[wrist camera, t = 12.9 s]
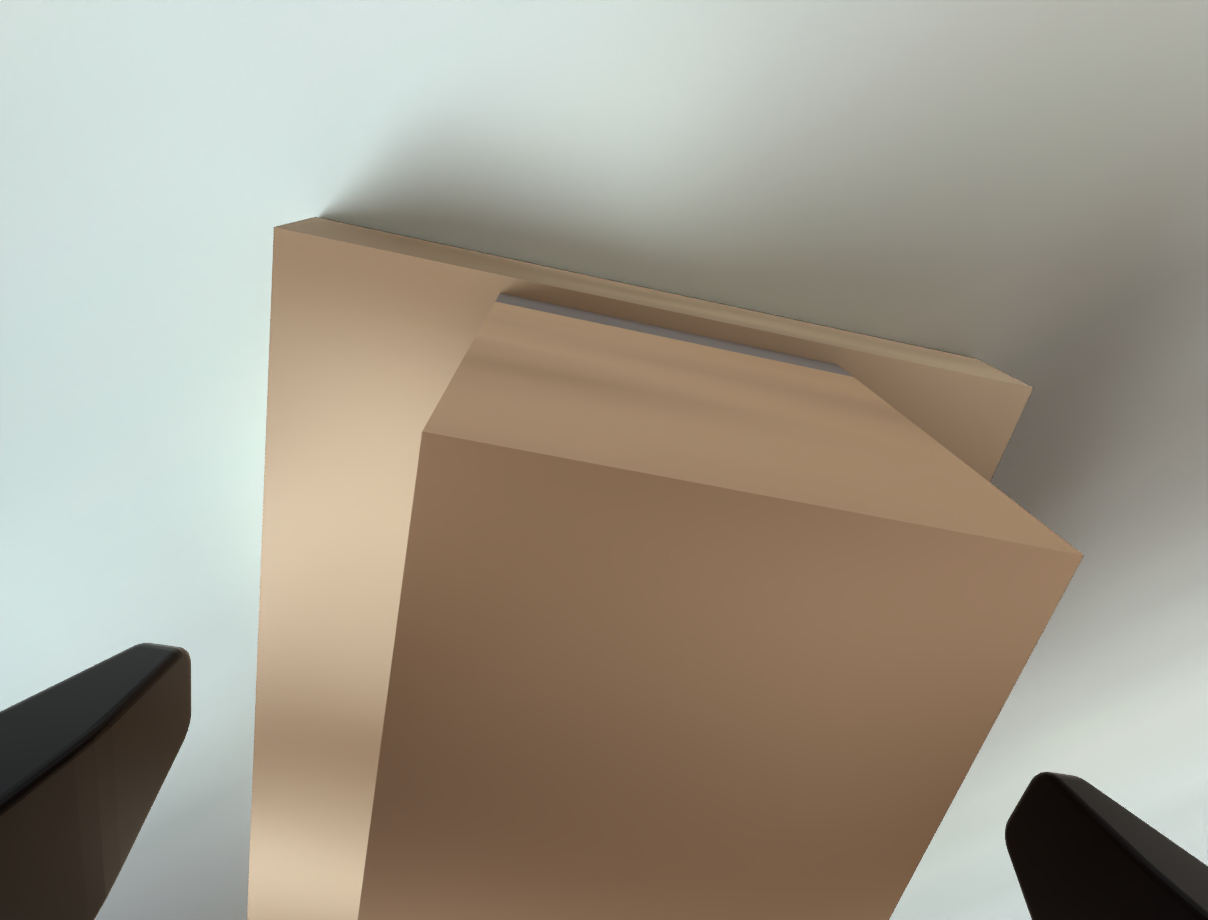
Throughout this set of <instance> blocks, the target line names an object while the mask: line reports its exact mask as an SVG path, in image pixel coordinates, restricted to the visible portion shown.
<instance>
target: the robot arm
mask: <svg viewBox="0 0 1208 920" xmlns="http://www.w3.org/2000/svg"><path fill="white" fill-rule="evenodd" d="M190 718H191V660H190V656H189V653H188V652H187V651H186V650H185V649H183V648H181V647H174V646H167V645H160V644H153V643H142V644H138V645H135V646H133V647H131V648H129V649H127V650H125V651H123V652H121V653H119V654H117V655H115V656H113V657H111V658H109V659H107V660H104V661H102V662H100V663H98V664H96V665H94V666H92V667H90V668H88V669H86V670H84V671H82V672H80V673H78V674H76V675H74V676H72V677H70V678H68V679H66V680H64V681H62V682H60V683H58V684H56V685H54V686H52V687H50V688H48V689H46V690H44V691H42V692H39V693H37V694H35V695H33V696H31V697H29V698H27V699H25V700H23V701H21V702H19V703H17V704H15V705H13V706H11V707H9V708H7V709H5V710H3V711H1V712H0V920H94V919H95V917H96V915H97V913H98V912H99V910H100V908H101V907H102V905H103V903H104V901H105V900H106V898H107V896H108V894H109V892H110V890H111V888H112V886H113V884H114V882H115V880H116V878H117V876H118V875H119V873H120V871H121V869H122V867H123V864H124V862H125V860H126V858H127V856H128V854H129V852H130V850H131V848H132V846H133V844H134V842H135V840H136V838H137V836H138V834H139V832H140V830H141V827H142V825H143V823H144V821H145V819H146V817H147V815H148V813H149V811H150V809H151V807H152V805H153V803H154V801H155V799H156V797H157V795H158V793H159V791H160V788H161V786H162V784H163V782H164V780H165V778H166V776H167V774H168V772H169V770H170V768H171V766H172V764H173V762H174V760H175V758H176V756H177V754H178V751H179V749H180V747H181V745H182V743H183V741H184V739H185V736H186V734H187V731H188V727H189V724H190ZM1005 840H1006V846H1007V849H1008V852H1009V855H1010V858H1011V861H1012V864H1013V867H1014V870H1015V872H1016V875H1017V878H1018V881H1019V884H1020V887H1021V890H1022V893H1023V895H1024V898H1025V901H1026V904H1027V907H1028V910H1029V913H1030V915H1031V918H1032V920H1208V866H1207V865H1205V864H1204V863H1202V862H1201V861H1200V860H1198V859H1197V858H1195V857H1194V856H1192V855H1191V854H1189V853H1188V852H1187V851H1185V850H1184V849H1182V848H1181V847H1179V846H1178V845H1177V844H1175V843H1174V842H1172V841H1171V840H1169V839H1168V838H1167V837H1165V836H1164V835H1162V834H1161V833H1159V832H1158V831H1157V830H1155V829H1154V828H1152V827H1151V826H1149V825H1148V824H1147V823H1145V822H1144V821H1142V820H1141V819H1139V818H1138V817H1137V816H1135V815H1134V814H1132V813H1131V812H1129V811H1128V810H1127V809H1125V808H1124V807H1122V806H1121V805H1119V804H1118V803H1117V802H1115V801H1114V800H1112V799H1111V798H1109V797H1108V796H1107V795H1105V794H1104V793H1102V792H1101V791H1099V790H1098V789H1097V788H1095V787H1094V786H1092V785H1091V784H1089V783H1088V782H1086V781H1085V780H1083V779H1081V778H1079V777H1076V776H1072V775H1066V774H1059V773H1052V772H1043V773H1040V774H1038V775H1036V776H1035V777H1034V778H1033V779H1032V780H1031V782H1030V784H1029V785H1028V787H1027V789H1026V790H1025V792H1024V794H1023V796H1022V797H1021V799H1020V801H1019V802H1018V804H1017V806H1016V807H1015V809H1014V811H1013V813H1012V814H1011V816H1010V818H1009V819H1008V822H1007V824H1006V829H1005Z"/></svg>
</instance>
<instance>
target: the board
mask: <svg viewBox="0 0 1208 920" xmlns="http://www.w3.org/2000/svg"><path fill="white" fill-rule="evenodd" d="M500 293H503V294H508V295H512V296H517V297H522V298H527V299H531V300H536V301H541V302H545V303H550V304H555V305H560V306H564V307H569V308H574V309H578V310H583V311H588V312H593V313H597V314H602V315H607V316H611V317H616V318H621V319H626V320H630V321H635V322H640V323H644V324H649V325H654V326H659V327H663V328H668V329H673V330H677V331H682V332H687V333H692V334H696V335H701V336H706V337H710V338H715V339H720V340H725V341H729V342H734V343H739V344H743V345H748V346H753V347H757V348H762V349H767V350H772V351H776V352H781V353H786V354H790V355H795V356H800V357H805V358H809V359H814V360H819V361H823V362H828V363H833V364H838V365H839V366H840V367H841V368H843V369H844V370H845V371H847V372H848V373H849V374H850V375H852V376H853V377H854V378H856V379H857V380H858V381H859V382H861V383H862V384H863V385H865V386H866V387H867V388H869V389H870V390H871V391H872V392H874V393H875V394H876V395H878V396H879V397H880V398H881V399H883V400H884V401H885V402H887V403H888V404H889V405H890V406H892V407H893V408H894V409H896V410H897V411H898V412H900V413H901V414H902V415H903V416H905V417H906V418H907V419H909V420H910V421H911V422H912V423H914V424H915V425H916V426H918V427H919V428H920V429H921V430H923V431H924V432H925V433H927V434H928V435H929V436H930V437H932V438H933V439H934V440H936V441H937V442H938V443H940V444H941V445H942V446H943V447H945V448H946V449H947V450H949V451H950V452H951V453H952V454H954V455H955V456H956V457H958V458H959V459H960V460H961V461H963V462H964V463H965V464H967V465H968V466H969V467H970V468H972V469H973V470H974V471H976V472H977V473H978V474H980V475H981V476H982V477H983V478H985V479H986V480H987V481H989V482H990V481H991V479H992V477H993V474H994V472H995V470H996V468H997V466H998V464H999V461H1000V459H1001V457H1002V455H1003V453H1004V451H1005V448H1006V446H1007V444H1008V442H1009V440H1010V438H1011V435H1012V433H1013V431H1014V429H1015V427H1016V425H1017V422H1018V420H1019V418H1020V416H1021V414H1022V412H1023V409H1024V407H1025V405H1026V403H1027V401H1028V399H1029V396H1030V394H1031V392H1032V390H1033V387H1031V386H1029V385H1027V384H1025V383H1023V382H1021V381H1019V380H1017V379H1015V378H1013V377H1011V376H1009V375H1007V374H1005V373H1004V372H1002V371H1000V370H998V369H996V368H994V367H992V366H990V365H988V364H986V363H984V362H982V361H980V360H978V359H975V358H970V357H966V356H961V355H956V354H952V353H947V352H942V351H938V350H933V349H928V348H924V347H919V346H915V345H910V344H905V343H901V342H896V341H891V340H887V339H882V338H877V337H873V336H868V335H863V334H859V333H854V332H849V331H845V330H840V329H835V328H831V327H826V326H821V325H817V324H812V323H807V322H803V321H798V320H793V319H789V318H784V317H779V316H775V315H770V314H765V313H761V312H756V311H751V310H747V309H742V308H737V307H733V306H728V305H723V304H719V303H714V302H709V301H705V300H700V299H695V298H691V297H686V296H681V295H677V294H672V293H667V292H663V291H658V290H654V289H649V288H644V287H640V286H635V285H630V284H626V283H621V282H616V281H612V280H607V279H602V278H598V277H593V276H588V275H584V274H579V273H574V272H570V271H565V270H560V269H556V268H551V267H546V266H542V265H537V264H532V263H528V262H523V261H518V260H514V259H509V258H504V257H500V256H495V255H490V254H486V253H481V252H476V251H472V250H467V249H462V248H458V247H453V246H448V245H444V244H439V243H434V242H430V241H425V240H420V239H416V238H411V237H407V236H402V235H397V234H393V233H388V232H383V231H379V230H374V229H369V228H365V227H360V226H355V225H351V224H346V223H341V222H337V221H332V220H327V219H323V218H318V217H314V218H309V219H305V220H301V221H297V222H293V223H289V224H285V225H281V226H276V227H274V241H273V266H272V292H271V318H270V344H269V370H268V396H267V421H266V447H265V473H264V499H263V525H262V551H261V576H260V602H259V628H258V654H257V680H256V706H255V731H254V757H253V783H252V809H251V835H250V861H249V886H248V912H247V920H358V913H359V906H360V898H361V890H362V883H363V875H364V868H365V860H366V853H367V845H368V838H369V830H370V822H371V815H372V807H373V800H374V792H375V785H376V777H377V769H378V762H379V754H380V747H381V739H382V732H383V724H384V716H385V709H386V701H387V694H388V686H389V679H390V671H391V664H392V656H393V648H394V641H395V633H396V626H397V618H398V611H399V603H400V595H401V588H402V580H403V573H404V565H405V558H406V550H407V543H408V535H409V527H410V520H411V512H412V505H413V497H414V490H415V482H416V474H417V467H418V459H419V452H420V444H421V437H422V431H423V429H424V427H425V426H426V424H427V422H428V420H429V418H430V417H431V415H432V413H433V411H434V409H435V408H436V406H437V404H438V402H439V401H440V399H441V397H442V395H443V393H444V392H445V390H446V388H447V386H448V385H449V383H450V381H451V379H452V377H453V376H454V374H455V372H456V370H457V369H458V367H459V365H460V363H461V361H462V360H463V358H464V356H465V354H466V353H467V351H468V349H469V347H470V345H471V344H472V342H473V340H474V338H475V337H476V335H477V333H478V331H479V329H480V328H481V326H482V324H483V322H484V320H485V319H486V317H487V315H488V313H489V312H490V310H491V308H492V306H493V304H494V303H495V301H496V299H497V297H498V296H499V294H500Z"/></svg>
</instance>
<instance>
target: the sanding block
mask: <svg viewBox="0 0 1208 920" xmlns="http://www.w3.org/2000/svg"><path fill="white" fill-rule="evenodd" d="M1083 556H1084V555H1083V554H1082V553H1080V552H1079V551H1078V550H1076V549H1075V548H1074V547H1072V546H1071V545H1070V544H1069V543H1067V542H1066V541H1065V540H1063V539H1062V538H1061V537H1060V536H1058V535H1057V534H1056V533H1054V532H1053V531H1052V530H1051V529H1049V528H1048V527H1047V526H1045V525H1044V524H1043V523H1041V522H1040V521H1039V520H1038V519H1036V518H1035V517H1034V516H1032V515H1031V514H1030V513H1029V512H1027V511H1026V510H1025V509H1023V508H1022V507H1021V506H1020V505H1018V504H1017V503H1016V502H1014V501H1013V500H1012V499H1011V498H1009V497H1008V496H1007V495H1005V494H1004V493H1003V492H1001V491H1000V490H999V489H998V488H996V487H995V486H994V485H992V484H991V483H990V482H989V481H987V480H986V479H985V478H983V477H982V476H981V475H980V474H978V473H977V472H976V471H974V470H973V469H972V468H970V467H969V466H968V465H967V464H965V463H964V462H963V461H961V460H960V459H959V458H958V457H956V456H955V455H954V454H952V453H951V452H950V451H949V450H947V449H946V448H945V447H943V446H942V445H941V444H940V443H938V442H937V441H936V440H934V439H933V438H932V437H930V436H929V435H928V434H927V433H925V432H924V431H923V430H921V429H920V428H919V427H918V426H916V425H915V424H914V423H912V422H911V421H910V420H909V419H907V418H906V417H905V416H903V415H902V414H901V413H900V412H898V411H897V410H896V409H894V408H893V407H892V406H890V405H889V404H888V403H887V402H885V401H884V400H883V399H881V398H880V397H879V396H878V395H876V394H875V393H874V392H872V391H871V390H870V389H869V388H867V387H866V386H865V385H863V384H862V383H861V382H859V381H858V380H857V379H856V378H854V377H853V376H852V375H850V374H849V373H848V372H847V371H845V370H844V369H843V368H841V367H840V366H839V365H838V364H833V363H828V362H823V361H819V360H814V359H809V358H805V357H800V356H795V355H790V354H786V353H781V352H776V351H772V350H767V349H762V348H757V347H753V346H748V345H743V344H739V343H734V342H729V341H725V340H720V339H715V338H710V337H706V336H701V335H696V334H692V333H687V332H682V331H677V330H673V329H668V328H663V327H659V326H654V325H649V324H644V323H640V322H635V321H630V320H626V319H621V318H616V317H611V316H607V315H602V314H597V313H593V312H588V311H583V310H578V309H574V308H569V307H564V306H560V305H555V304H550V303H545V302H541V301H536V300H531V299H527V298H522V297H517V296H512V295H508V294H503V293H500V294H499V296H498V297H497V299H496V301H495V303H494V304H493V306H492V308H491V310H490V312H489V313H488V315H487V317H486V319H485V320H484V322H483V324H482V326H481V328H480V329H479V331H478V333H477V335H476V337H475V338H474V340H473V342H472V344H471V345H470V347H469V349H468V351H467V353H466V354H465V356H464V358H463V360H462V361H461V363H460V365H459V367H458V369H457V370H456V372H455V374H454V376H453V377H452V379H451V381H450V383H449V385H448V386H447V388H446V390H445V392H444V393H443V395H442V397H441V399H440V401H439V402H438V404H437V406H436V408H435V409H434V411H433V413H432V415H431V417H430V418H429V420H428V422H427V424H426V426H425V427H424V429H423V431H422V437H421V444H420V452H419V459H418V467H417V474H416V482H415V490H414V497H413V505H412V512H411V520H410V527H409V535H408V543H407V550H406V558H405V565H404V573H403V580H402V588H401V595H400V603H399V611H398V618H397V626H396V633H395V641H394V648H393V656H392V664H391V671H390V679H389V686H388V694H387V701H386V709H385V716H384V724H383V732H382V739H381V747H380V754H379V762H378V769H377V777H376V785H375V792H374V800H373V807H372V815H371V822H370V830H369V838H368V845H367V853H366V860H365V868H364V875H363V883H362V890H361V898H360V906H359V913H358V920H889V918H890V917H891V915H892V913H893V911H894V909H895V907H896V905H897V904H898V902H899V900H900V898H901V896H902V894H903V892H904V890H905V889H906V887H907V885H908V883H909V881H910V879H911V877H912V876H913V874H914V872H915V870H916V868H917V866H918V864H919V862H920V861H921V859H922V857H923V855H924V853H925V851H926V849H927V847H928V846H929V844H930V842H931V840H932V838H933V836H934V834H935V833H936V831H937V829H938V827H939V825H940V823H941V821H942V819H943V818H944V816H945V814H946V812H947V810H948V808H949V806H950V805H951V803H952V801H953V799H954V797H955V795H956V793H957V791H958V790H959V788H960V786H961V784H962V782H963V780H964V778H965V776H966V775H967V773H968V771H969V769H970V767H971V765H972V763H973V762H974V760H975V758H976V756H977V754H978V752H979V750H980V748H981V747H982V745H983V743H984V741H985V739H986V737H987V735H988V734H989V732H990V730H991V728H992V726H993V724H994V722H995V720H996V719H997V717H998V715H999V713H1000V711H1001V709H1002V707H1003V705H1004V704H1005V702H1006V700H1007V698H1008V696H1009V694H1010V692H1011V691H1012V689H1013V687H1014V685H1015V683H1016V681H1017V679H1018V677H1019V676H1020V674H1021V672H1022V670H1023V668H1024V666H1025V664H1026V663H1027V661H1028V659H1029V657H1030V655H1031V653H1032V651H1033V649H1034V648H1035V646H1036V644H1037V642H1038V640H1039V638H1040V636H1041V634H1042V633H1043V631H1044V629H1045V627H1046V625H1047V623H1048V621H1049V620H1050V618H1051V616H1052V614H1053V612H1054V610H1055V608H1056V606H1057V605H1058V603H1059V601H1060V599H1061V597H1062V595H1063V593H1064V592H1065V590H1066V588H1067V586H1068V584H1069V582H1070V580H1071V578H1072V577H1073V575H1074V573H1075V571H1076V569H1077V567H1078V565H1079V563H1080V562H1081V560H1082V558H1083Z"/></svg>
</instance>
